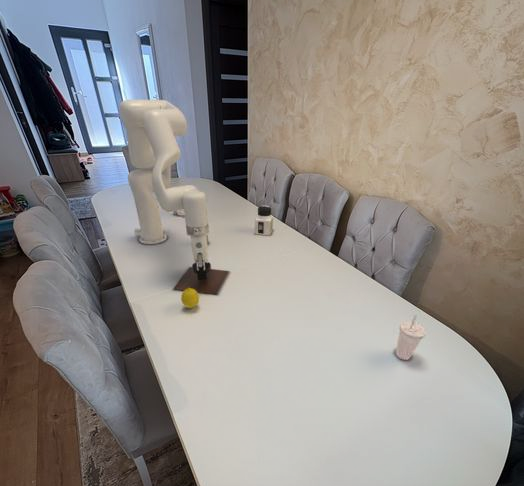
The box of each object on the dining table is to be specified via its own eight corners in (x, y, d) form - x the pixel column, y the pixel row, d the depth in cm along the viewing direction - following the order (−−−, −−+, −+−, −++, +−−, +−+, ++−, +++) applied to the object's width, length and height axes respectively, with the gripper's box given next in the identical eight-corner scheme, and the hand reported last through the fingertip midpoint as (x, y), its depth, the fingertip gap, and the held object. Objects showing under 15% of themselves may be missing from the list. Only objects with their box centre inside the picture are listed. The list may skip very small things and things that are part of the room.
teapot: (179, 221, 165) (176, 204, 160) (168, 210, 180) (166, 194, 175) (196, 218, 170) (194, 201, 164) (184, 207, 184) (182, 192, 179)
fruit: (191, 315, 98) (189, 294, 93) (179, 309, 100) (176, 288, 96) (203, 306, 102) (201, 286, 97) (190, 301, 104) (188, 281, 100)
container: (269, 235, 152) (271, 210, 145) (254, 234, 153) (255, 208, 146) (272, 229, 158) (273, 205, 151) (258, 228, 160) (258, 203, 152)
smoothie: (386, 347, 88) (399, 308, 80) (408, 346, 88) (423, 307, 81) (396, 364, 82) (412, 323, 75) (419, 363, 83) (436, 323, 75)
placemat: (173, 289, 110) (173, 288, 109) (190, 268, 123) (189, 266, 123) (216, 294, 108) (216, 293, 107) (228, 272, 121) (228, 271, 121)
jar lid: (209, 264, 116) (208, 259, 115) (212, 272, 111) (212, 268, 110) (191, 266, 114) (190, 262, 113) (194, 275, 109) (193, 270, 108)
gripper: (209, 238, 97) (213, 285, 107) (207, 219, 112) (211, 262, 121) (185, 239, 96) (191, 287, 106) (186, 220, 111) (192, 263, 120)
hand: (202, 273), depth 114 cm, fingers closed on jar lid, 6 cm apart
